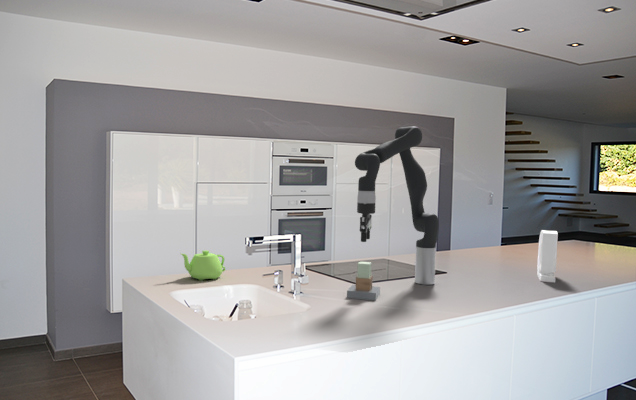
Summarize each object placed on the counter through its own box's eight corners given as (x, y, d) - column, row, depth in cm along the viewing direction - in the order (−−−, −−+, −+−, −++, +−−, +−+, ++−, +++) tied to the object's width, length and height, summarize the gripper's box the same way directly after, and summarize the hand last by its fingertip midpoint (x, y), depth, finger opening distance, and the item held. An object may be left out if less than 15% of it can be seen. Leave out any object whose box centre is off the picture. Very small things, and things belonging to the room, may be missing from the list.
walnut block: (358, 286, 224) (358, 275, 224) (372, 287, 223) (372, 276, 222) (355, 289, 218) (355, 277, 218) (369, 290, 217) (370, 279, 217)
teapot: (184, 283, 235) (184, 254, 235) (175, 277, 248) (175, 249, 247) (230, 279, 247) (231, 251, 246) (219, 273, 259) (219, 247, 259)
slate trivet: (352, 291, 228) (352, 284, 228) (379, 293, 225) (380, 286, 225) (346, 297, 216) (347, 290, 216) (375, 300, 213) (375, 293, 213)
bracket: (540, 281, 260) (543, 231, 259) (536, 273, 280) (539, 226, 279) (555, 282, 258) (558, 232, 257) (550, 274, 278) (553, 227, 277)
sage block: (359, 275, 223) (359, 261, 223) (371, 276, 222) (371, 262, 222) (357, 277, 219) (357, 263, 218) (369, 278, 217) (369, 264, 217)
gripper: (360, 200, 226) (359, 237, 227) (354, 202, 212) (353, 242, 213) (377, 201, 224) (376, 238, 225) (372, 203, 210) (371, 243, 211)
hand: (365, 240), depth 219 cm, fingers open, 8 cm apart
